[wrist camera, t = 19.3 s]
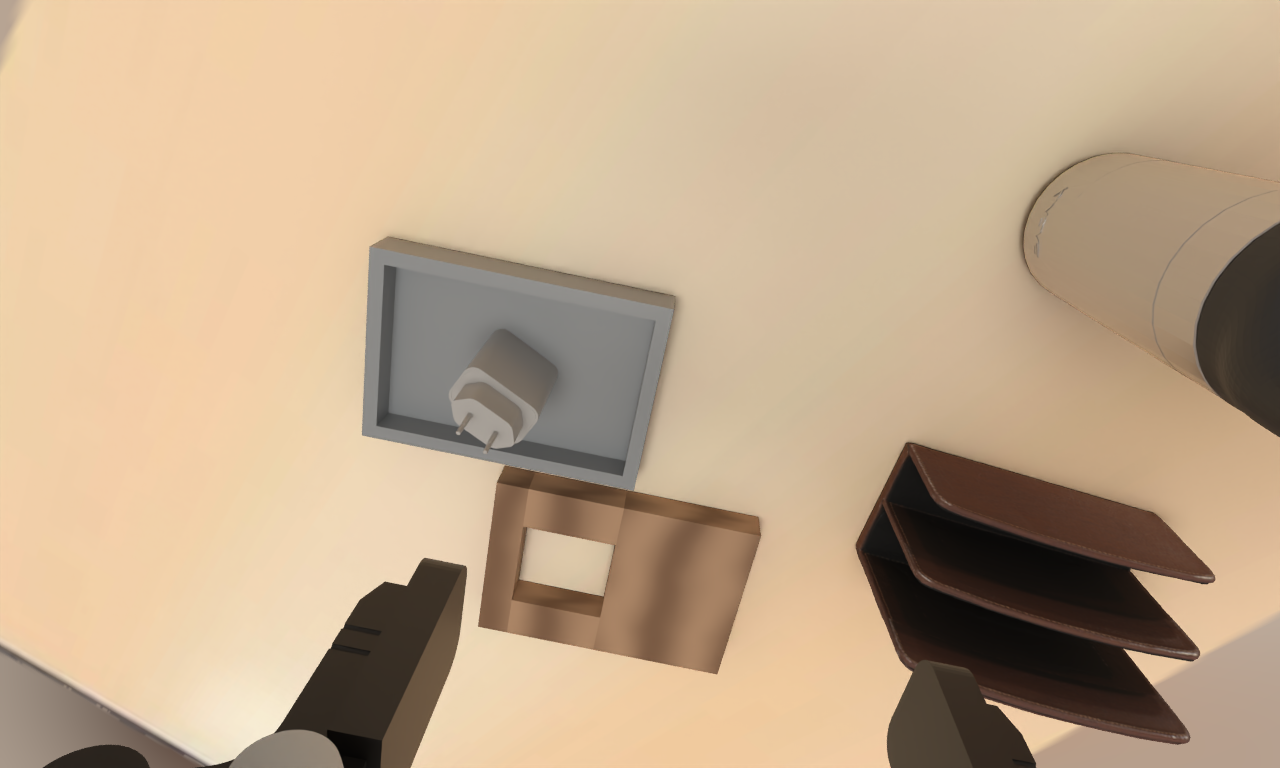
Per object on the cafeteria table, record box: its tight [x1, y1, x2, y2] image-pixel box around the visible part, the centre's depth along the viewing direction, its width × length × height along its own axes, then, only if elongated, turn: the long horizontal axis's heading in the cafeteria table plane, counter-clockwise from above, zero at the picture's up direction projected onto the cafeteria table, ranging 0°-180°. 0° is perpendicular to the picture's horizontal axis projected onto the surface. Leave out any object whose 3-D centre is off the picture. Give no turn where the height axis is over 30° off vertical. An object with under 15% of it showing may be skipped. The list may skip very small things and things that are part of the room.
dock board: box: [478, 466, 761, 674], centre depth 58 cm, size 20×14×2 cm
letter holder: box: [856, 443, 1215, 745], centre depth 49 cm, size 10×20×14 cm, turn 74°
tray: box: [362, 237, 675, 491], centre depth 51 cm, size 20×14×3 cm
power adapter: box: [449, 329, 558, 454], centre depth 46 cm, size 3×5×12 cm, turn 51°
